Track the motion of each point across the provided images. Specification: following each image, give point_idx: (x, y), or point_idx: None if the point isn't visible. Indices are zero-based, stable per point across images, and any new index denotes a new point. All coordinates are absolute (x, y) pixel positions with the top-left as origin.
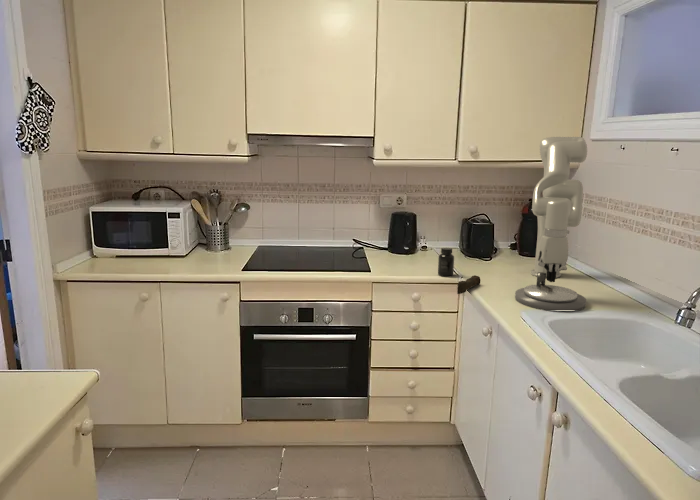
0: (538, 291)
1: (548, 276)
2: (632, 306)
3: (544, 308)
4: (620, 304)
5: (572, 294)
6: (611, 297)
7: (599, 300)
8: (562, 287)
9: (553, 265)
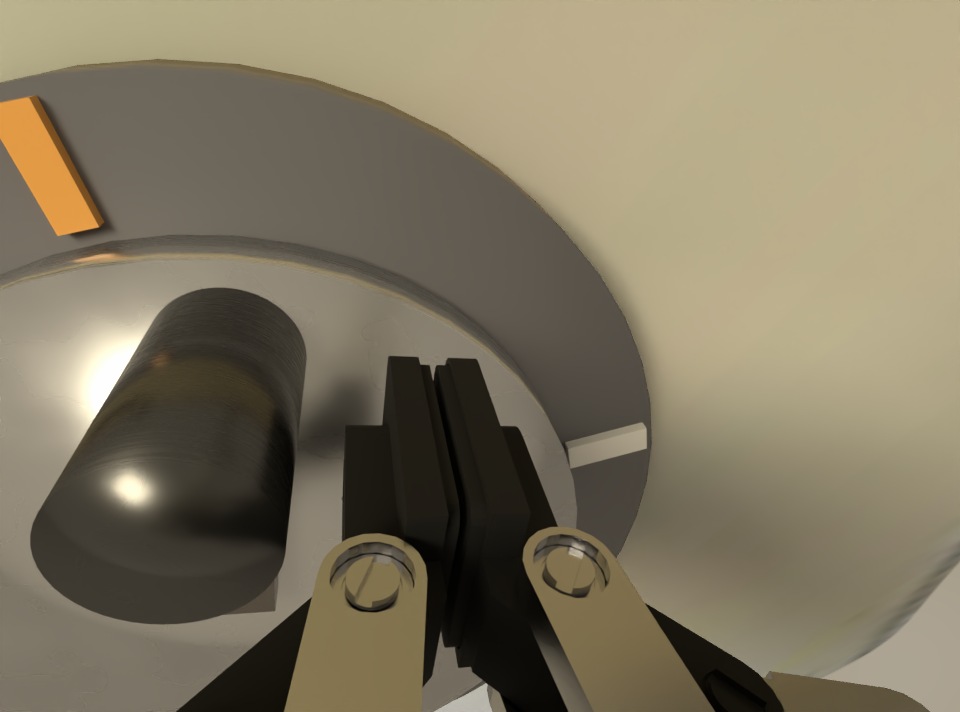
0: (41, 600)
1: (342, 530)
2: (834, 603)
3: None
4: (810, 571)
5: (441, 672)
6: (947, 428)
7: (770, 490)
8: (540, 456)
9: (586, 695)
